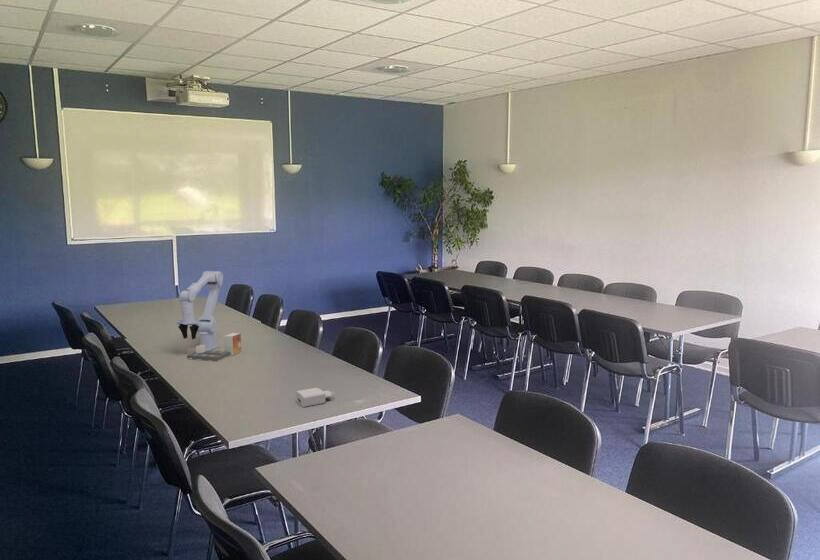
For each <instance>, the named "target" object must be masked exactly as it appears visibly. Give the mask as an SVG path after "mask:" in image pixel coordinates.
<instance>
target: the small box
mask: <svg viewBox="0 0 820 560" xmlns="http://www.w3.org/2000/svg"><path fill="white" fill-rule="evenodd" d="M241 334H242V333H238V332H237V333H236V332H231V333H229V334H226V335H223V349H224V350H223V351H227V352H230V356H235V355H238V354H240V352H241V353H242V335H241Z"/></svg>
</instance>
